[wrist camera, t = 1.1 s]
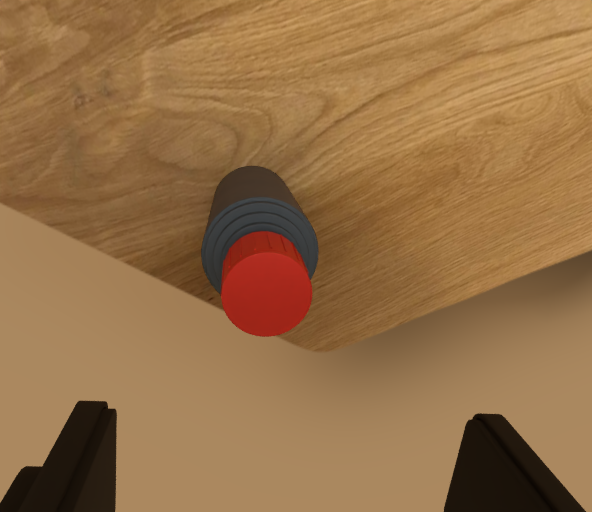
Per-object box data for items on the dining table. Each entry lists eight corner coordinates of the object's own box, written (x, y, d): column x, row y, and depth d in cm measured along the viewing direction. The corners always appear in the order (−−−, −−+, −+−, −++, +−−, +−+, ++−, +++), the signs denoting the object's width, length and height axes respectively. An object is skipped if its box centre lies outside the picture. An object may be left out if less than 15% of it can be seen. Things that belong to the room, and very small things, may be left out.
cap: (219, 303, 24) (217, 335, 20) (226, 226, 23) (224, 246, 19) (297, 307, 24) (306, 340, 21) (307, 233, 23) (318, 254, 20)
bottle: (210, 238, 39) (187, 354, 21) (216, 161, 38) (196, 213, 19) (286, 245, 40) (328, 360, 22) (295, 170, 39) (349, 227, 20)
